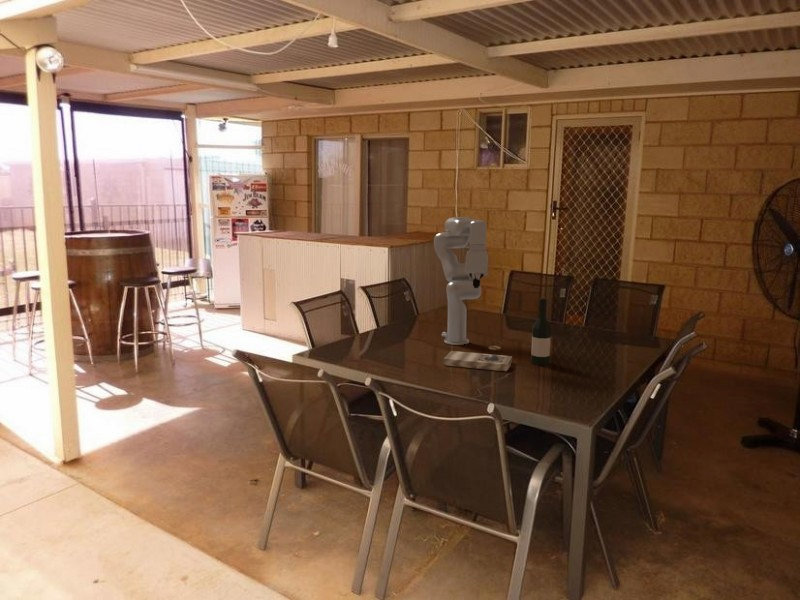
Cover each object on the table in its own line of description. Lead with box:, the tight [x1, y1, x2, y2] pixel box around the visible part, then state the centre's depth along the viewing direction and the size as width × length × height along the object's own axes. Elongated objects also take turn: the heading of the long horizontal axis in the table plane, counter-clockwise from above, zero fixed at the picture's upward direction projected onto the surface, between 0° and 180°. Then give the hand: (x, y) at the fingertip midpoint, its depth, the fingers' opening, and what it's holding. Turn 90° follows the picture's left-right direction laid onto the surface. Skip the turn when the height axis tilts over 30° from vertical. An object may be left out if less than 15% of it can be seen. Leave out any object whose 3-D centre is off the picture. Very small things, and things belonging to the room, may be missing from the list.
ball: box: [487, 354, 499, 361], centre depth 268 cm, size 5×5×5 cm
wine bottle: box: [530, 296, 552, 367], centre depth 269 cm, size 8×8×30 cm
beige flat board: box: [443, 350, 513, 372], centre depth 270 cm, size 28×14×3 cm, turn 71°
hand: (476, 287), depth 279 cm, fingers closed
